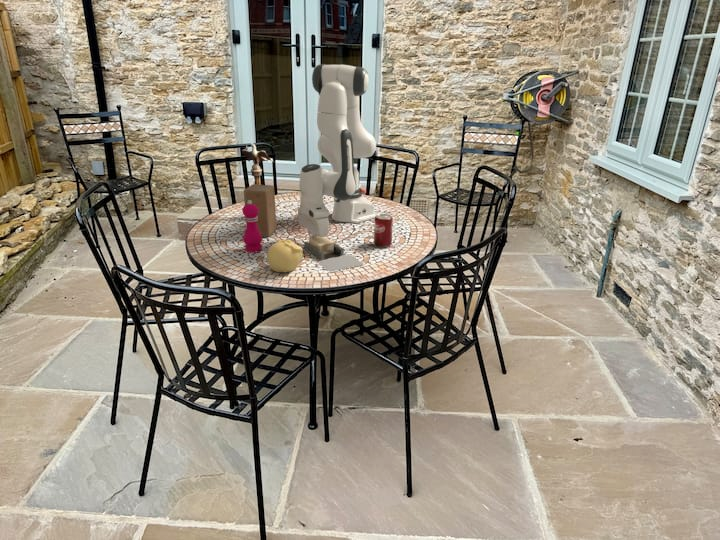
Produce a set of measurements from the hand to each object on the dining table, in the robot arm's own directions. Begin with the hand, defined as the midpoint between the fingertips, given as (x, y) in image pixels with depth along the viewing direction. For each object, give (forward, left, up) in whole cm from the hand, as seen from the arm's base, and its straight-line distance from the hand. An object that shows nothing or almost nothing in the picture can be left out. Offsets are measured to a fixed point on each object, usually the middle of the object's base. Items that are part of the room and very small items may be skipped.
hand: (312, 240), depth 192 cm
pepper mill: (+22, -8, -2) cm, 23 cm away
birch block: (0, +7, -2) cm, 7 cm away
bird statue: (+4, -47, -2) cm, 47 cm away
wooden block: (+12, -24, -2) cm, 27 cm away
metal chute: (0, +9, -2) cm, 9 cm away
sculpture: (+19, +15, -2) cm, 24 cm away
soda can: (-25, +13, -2) cm, 28 cm away
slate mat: (0, +21, -2) cm, 22 cm away
